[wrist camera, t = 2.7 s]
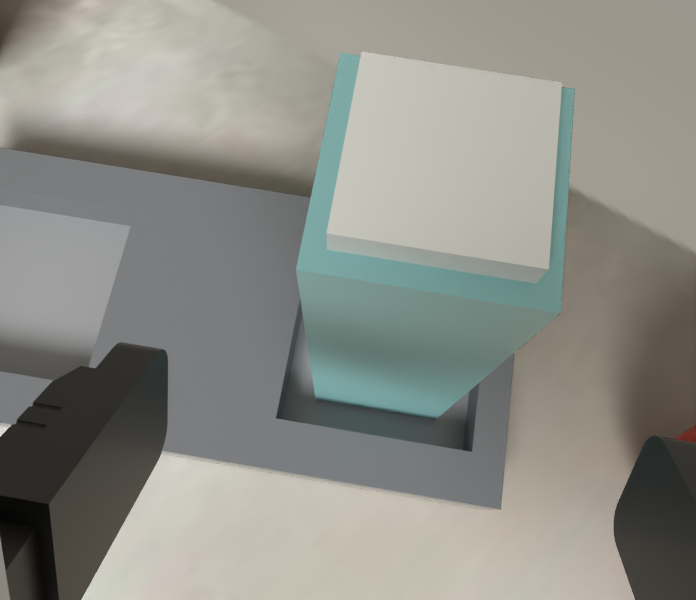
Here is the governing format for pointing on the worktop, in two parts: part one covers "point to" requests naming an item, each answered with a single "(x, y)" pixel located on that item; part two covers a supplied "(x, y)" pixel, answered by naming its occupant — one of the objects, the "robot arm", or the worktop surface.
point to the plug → (431, 229)
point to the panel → (212, 329)
